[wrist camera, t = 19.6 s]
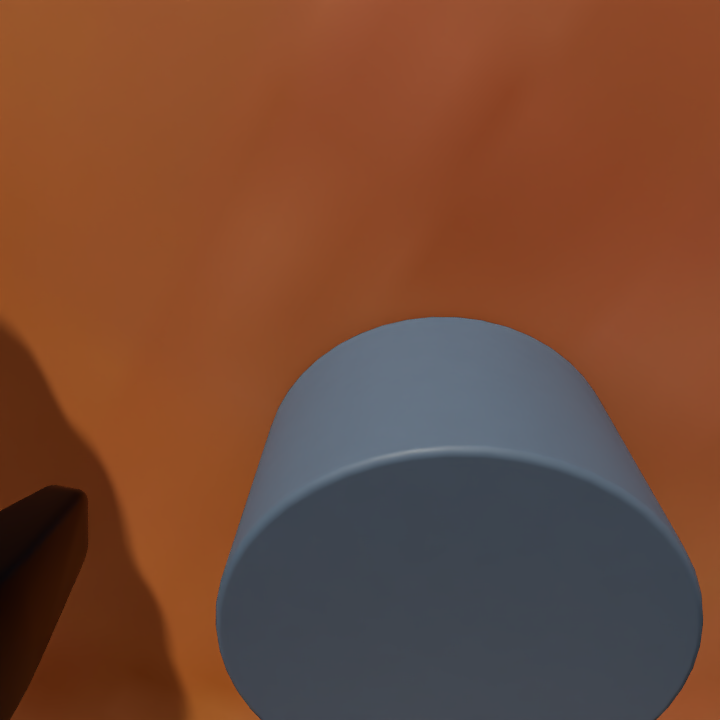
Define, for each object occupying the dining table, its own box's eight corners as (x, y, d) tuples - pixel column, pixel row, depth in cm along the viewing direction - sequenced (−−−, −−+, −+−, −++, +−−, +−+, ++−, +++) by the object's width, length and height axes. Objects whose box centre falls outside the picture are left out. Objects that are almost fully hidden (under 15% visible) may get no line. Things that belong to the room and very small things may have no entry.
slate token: (668, 353, 9) (802, 506, 6) (548, 620, 11) (602, 823, 8) (290, 281, 8) (237, 400, 6) (249, 567, 11) (196, 756, 8)
